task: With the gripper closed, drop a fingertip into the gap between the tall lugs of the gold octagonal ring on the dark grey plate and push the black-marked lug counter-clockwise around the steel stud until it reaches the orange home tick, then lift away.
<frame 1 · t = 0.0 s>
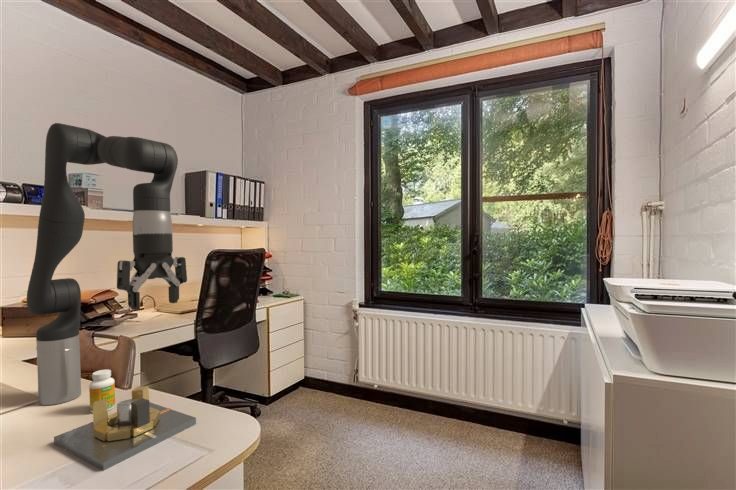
hand: (155, 306, 83), 29 cm above the table, tool pointing down, fingers open, 8 cm apart
base plate: (128, 433, 86), on the table
supplement bottle: (102, 409, 98), on the table
gold octagonal ring: (127, 411, 85), point 5 cm above the table, hinge at 0.0°
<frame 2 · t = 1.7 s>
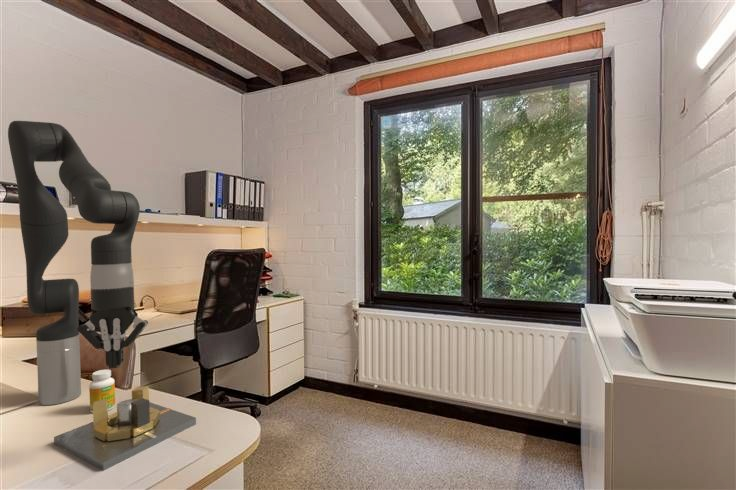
hand: (115, 367, 80), 17 cm above the table, tool pointing down, fingers closed
nothing on the table moved.
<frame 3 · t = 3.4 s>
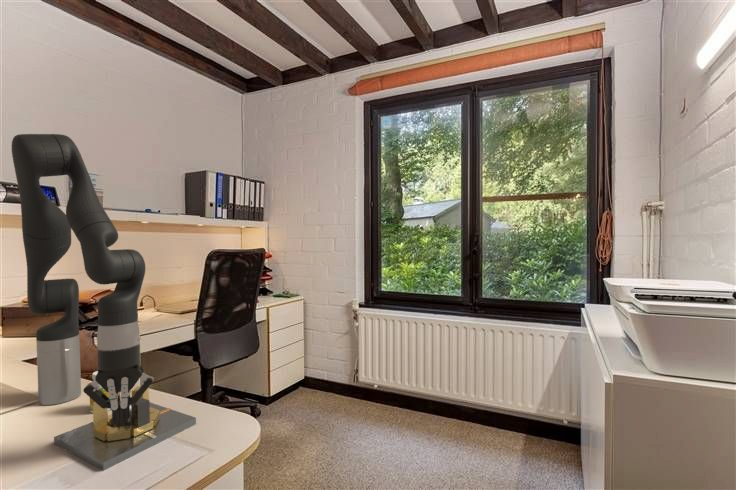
hand: (121, 424, 80), 5 cm above the table, tool pointing down, fingers closed
gold octagonal ring: (127, 411, 85), point 5 cm above the table, hinge at 0.3°, touching gripper
everything else where it was.
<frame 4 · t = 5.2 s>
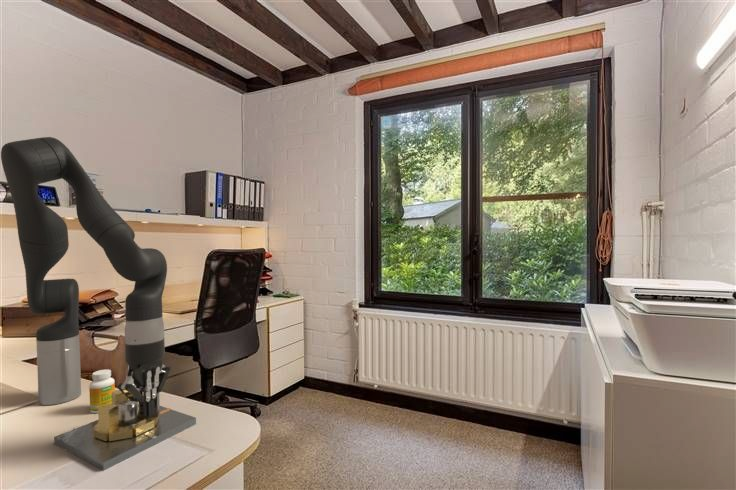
hand: (147, 416, 84), 5 cm above the table, tool pointing down, fingers closed
gold octagonal ring: (128, 411, 85), point 5 cm above the table, hinge at 48.8°, touching gripper
everything else where it was.
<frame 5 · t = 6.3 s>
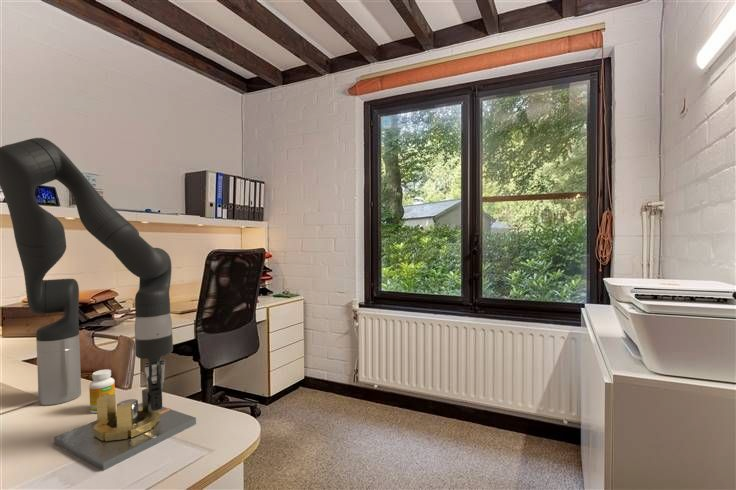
hand: (156, 408, 87), 5 cm above the table, tool pointing down, fingers closed
gold octagonal ring: (128, 411, 85), point 5 cm above the table, hinge at 85.8°, touching gripper
everything else where it was.
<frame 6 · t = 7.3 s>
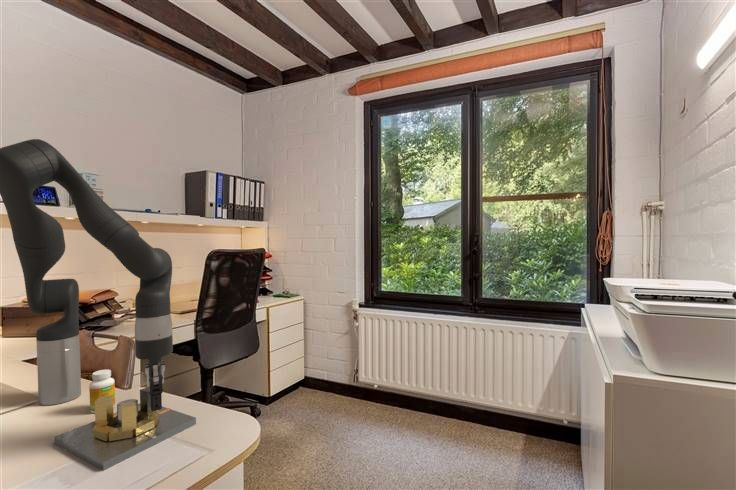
hand: (156, 409, 87), 5 cm above the table, tool pointing down, fingers closed
gold octagonal ring: (128, 411, 86), point 5 cm above the table, hinge at 93.9°
everything else where it was.
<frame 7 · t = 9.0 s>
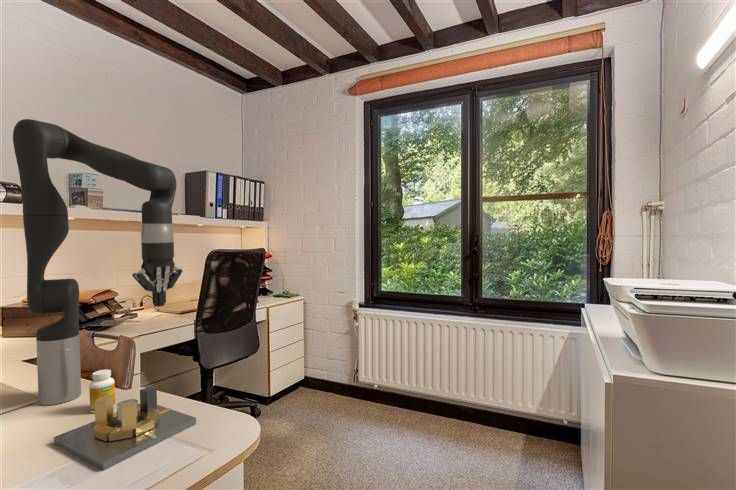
hand: (159, 305, 101), 26 cm above the table, tool pointing down, fingers closed
nothing on the table moved.
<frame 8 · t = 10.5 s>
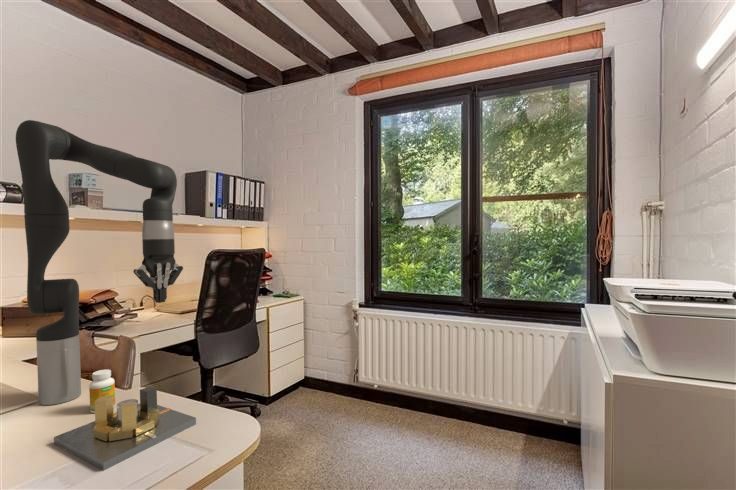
hand: (160, 302, 102), 27 cm above the table, tool pointing down, fingers closed
nothing on the table moved.
at the end: gold octagonal ring at +94° (first picture: +0°); gold octagonal ring touching nothing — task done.
